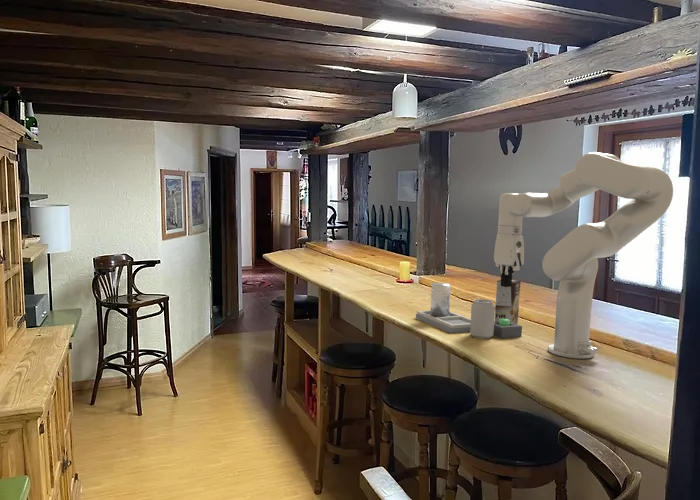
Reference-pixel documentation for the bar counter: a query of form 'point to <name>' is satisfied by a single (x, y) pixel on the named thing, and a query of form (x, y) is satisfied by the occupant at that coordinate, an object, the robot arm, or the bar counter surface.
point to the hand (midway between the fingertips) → (505, 286)
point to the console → (507, 330)
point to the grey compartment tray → (446, 321)
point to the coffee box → (507, 301)
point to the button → (504, 322)
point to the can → (482, 318)
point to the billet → (440, 299)
